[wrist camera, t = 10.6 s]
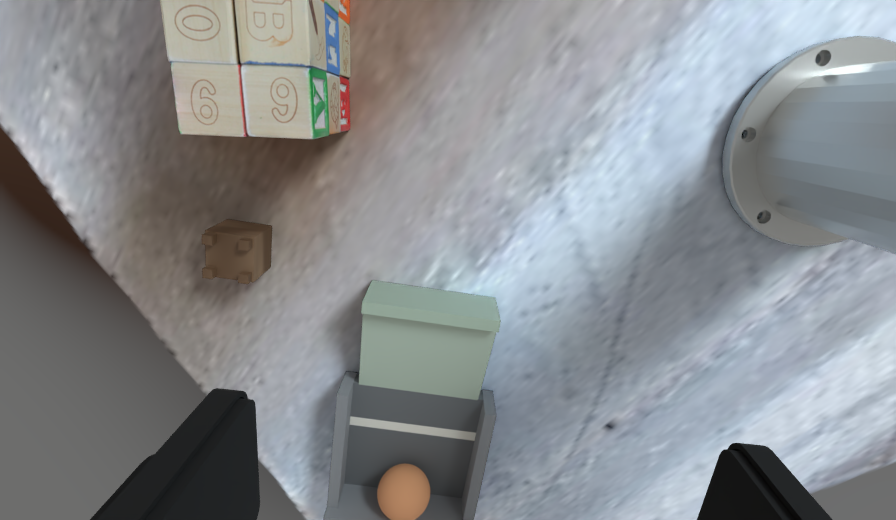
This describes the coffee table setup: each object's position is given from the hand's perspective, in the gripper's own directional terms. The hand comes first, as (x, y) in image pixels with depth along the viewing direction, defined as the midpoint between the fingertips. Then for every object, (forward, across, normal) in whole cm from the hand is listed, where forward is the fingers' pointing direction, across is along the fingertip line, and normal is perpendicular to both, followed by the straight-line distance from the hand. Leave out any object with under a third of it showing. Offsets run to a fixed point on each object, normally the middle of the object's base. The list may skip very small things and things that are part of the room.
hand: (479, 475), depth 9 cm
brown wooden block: (+23, +15, +4) cm, 27 cm away
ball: (+20, +3, +21) cm, 29 cm away
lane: (+23, +3, +18) cm, 29 cm away
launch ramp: (+23, +2, +10) cm, 25 cm away
